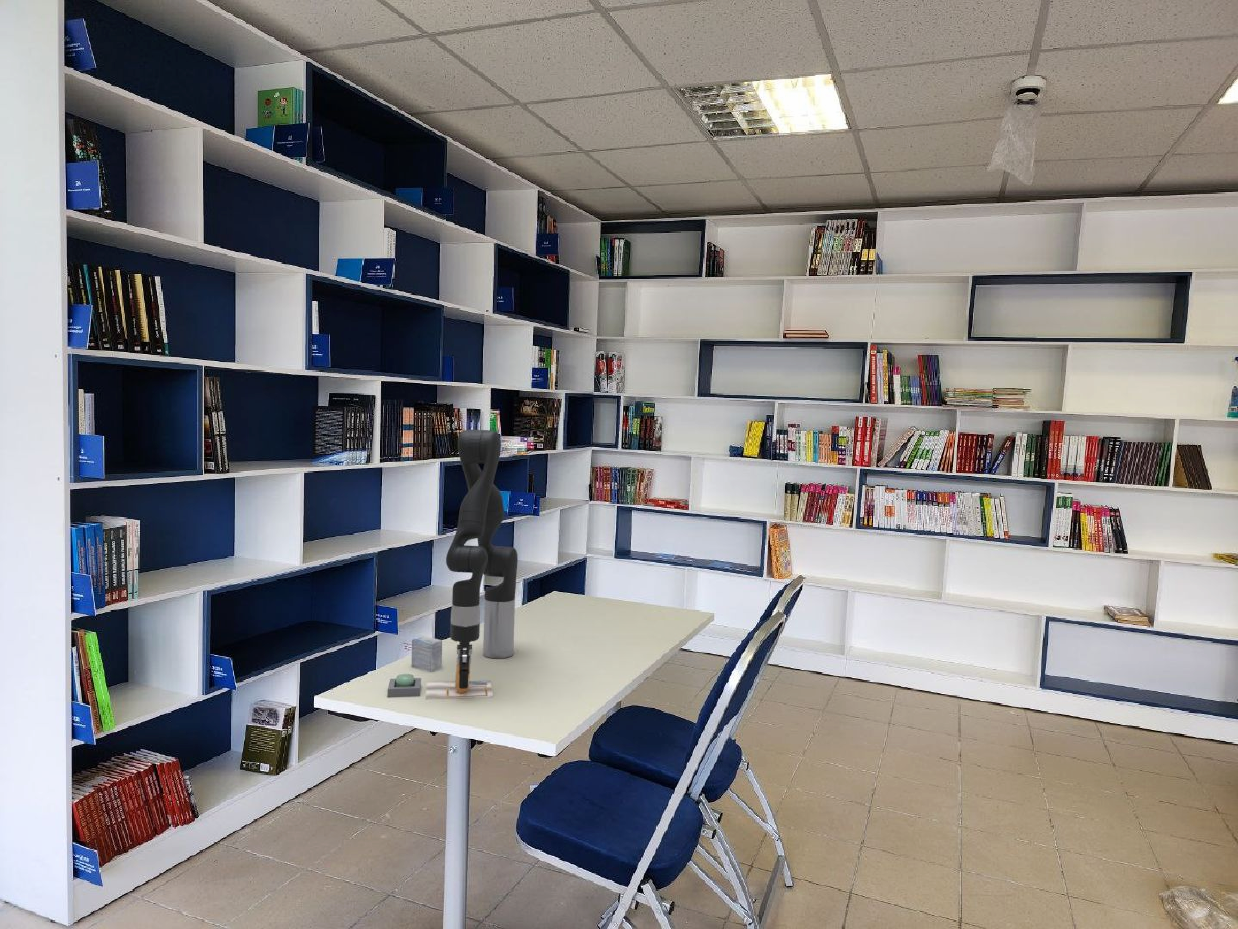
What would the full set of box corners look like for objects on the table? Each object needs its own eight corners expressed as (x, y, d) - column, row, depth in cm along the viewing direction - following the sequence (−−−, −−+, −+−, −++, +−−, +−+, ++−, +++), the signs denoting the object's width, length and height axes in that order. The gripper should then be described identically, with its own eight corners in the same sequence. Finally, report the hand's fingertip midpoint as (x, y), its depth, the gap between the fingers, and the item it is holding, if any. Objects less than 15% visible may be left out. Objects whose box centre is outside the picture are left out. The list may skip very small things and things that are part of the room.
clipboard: (423, 683, 218) (423, 681, 218) (493, 680, 222) (494, 679, 222) (421, 701, 204) (421, 700, 204) (496, 699, 208) (496, 697, 208)
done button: (396, 683, 212) (396, 674, 212) (413, 683, 213) (414, 673, 213) (395, 689, 208) (395, 680, 207) (413, 688, 208) (413, 679, 208)
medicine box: (442, 669, 230) (443, 640, 229) (431, 673, 226) (431, 643, 225) (422, 664, 234) (422, 635, 233) (410, 668, 230) (411, 638, 229)
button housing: (390, 688, 213) (390, 678, 213) (421, 687, 215) (421, 677, 215) (387, 698, 205) (387, 689, 205) (419, 697, 207) (420, 688, 207)
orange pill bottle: (454, 689, 213) (456, 655, 212) (468, 689, 213) (471, 656, 213) (454, 694, 209) (457, 660, 209) (468, 694, 210) (471, 660, 209)
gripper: (451, 614, 216) (449, 677, 217) (450, 628, 202) (448, 695, 203) (479, 614, 218) (477, 676, 219) (480, 628, 204) (478, 694, 205)
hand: (463, 685), depth 211 cm, fingers closed on orange pill bottle, 3 cm apart
